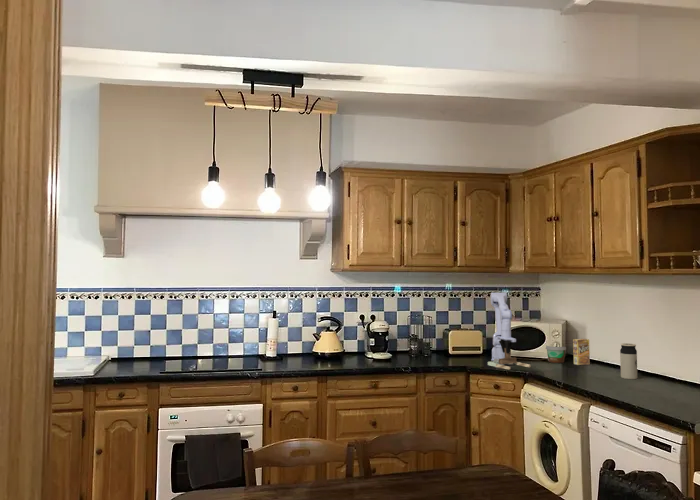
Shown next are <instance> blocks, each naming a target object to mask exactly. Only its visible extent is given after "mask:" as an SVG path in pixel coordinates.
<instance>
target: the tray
mask: <svg viewBox="0 0 700 500" xmlns="http://www.w3.org/2000/svg"><path fill="white" fill-rule="evenodd" d="M496 364H497V363H494V361H493V360H491V361H487V366H491V367H495V368H497V367H496ZM512 365H516V363H513V364H512ZM516 366H517V365H516Z"/></svg>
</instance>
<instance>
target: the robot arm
mask: <svg viewBox="0 0 700 500" xmlns="http://www.w3.org/2000/svg"><path fill="white" fill-rule="evenodd" d="M507 301H508V293H507V292H506V291H505V292H490V305H491V307H493V308H494V313H495V314H494V315H495V326H496V332H494V333H493V335H492V345H493V347H492V349H491V359H490V360H491V361H494V359H495V358H503V357H505V348H506V353H510V350H511V351H512V346H513V345H514V343H517V338H514V337H512V319H513V314H512V310H511V309H510V308H509V305H508V304H507Z"/></svg>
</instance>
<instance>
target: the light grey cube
mask: <svg viewBox="0 0 700 500" xmlns="http://www.w3.org/2000/svg"><path fill="white" fill-rule="evenodd" d="M499 359H501V358H495V359H494V363H497V364H499ZM499 365H504V366H505V364H499Z"/></svg>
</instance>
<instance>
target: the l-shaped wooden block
mask: <svg viewBox="0 0 700 500" xmlns="http://www.w3.org/2000/svg"><path fill="white" fill-rule="evenodd" d="M511 351H512V349H511V350H510V353H506V348H505V358H501V359H499V364H504V365H507V364H508V363H517V362H518V361H517V357H512V352H511ZM511 357H512V358H511Z"/></svg>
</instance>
